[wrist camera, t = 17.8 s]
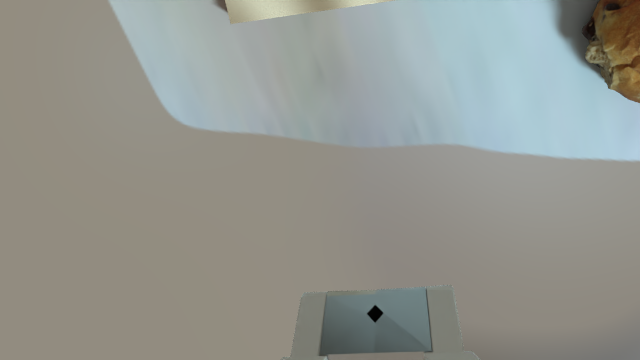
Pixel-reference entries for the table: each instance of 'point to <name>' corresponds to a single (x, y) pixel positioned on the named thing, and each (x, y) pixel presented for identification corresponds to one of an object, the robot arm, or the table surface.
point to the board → (284, 7)
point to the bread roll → (616, 45)
